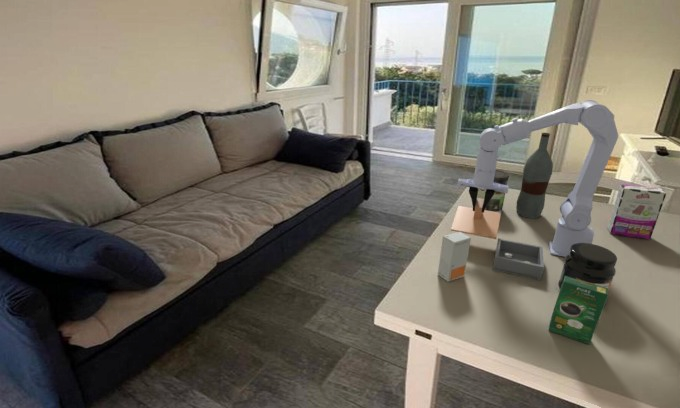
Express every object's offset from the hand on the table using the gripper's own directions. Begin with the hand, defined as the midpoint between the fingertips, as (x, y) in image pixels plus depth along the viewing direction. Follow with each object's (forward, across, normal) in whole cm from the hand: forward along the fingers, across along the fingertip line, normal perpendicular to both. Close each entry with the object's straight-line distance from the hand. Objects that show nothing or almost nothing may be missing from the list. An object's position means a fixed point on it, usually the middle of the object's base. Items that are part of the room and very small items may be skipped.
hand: (478, 210), depth 118 cm
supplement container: (+10, +28, -20) cm, 36 cm away
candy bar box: (+10, +46, +24) cm, 53 cm away
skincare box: (+10, -3, -26) cm, 27 cm away
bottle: (+10, +16, +28) cm, 34 cm away
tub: (+10, +13, -12) cm, 20 cm away
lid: (+4, 0, -3) cm, 4 cm away
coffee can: (+10, +2, +28) cm, 29 cm away
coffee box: (+10, +24, -38) cm, 46 cm away
